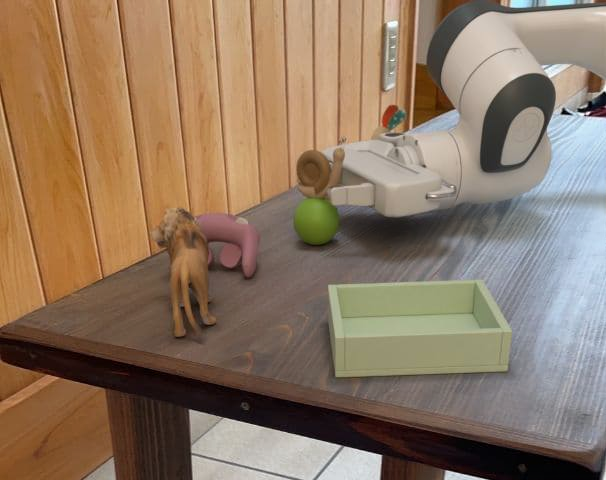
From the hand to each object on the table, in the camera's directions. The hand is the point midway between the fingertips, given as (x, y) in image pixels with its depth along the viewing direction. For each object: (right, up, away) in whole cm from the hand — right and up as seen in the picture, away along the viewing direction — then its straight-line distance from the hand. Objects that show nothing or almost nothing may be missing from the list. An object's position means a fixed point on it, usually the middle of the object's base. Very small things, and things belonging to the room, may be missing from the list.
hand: (313, 186), depth 98 cm
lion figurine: (-13, -18, -13) cm, 26 cm away
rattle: (+8, +9, +24) cm, 27 cm away
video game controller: (-11, -10, -2) cm, 15 cm away
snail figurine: (+1, -5, +4) cm, 7 cm away
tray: (+9, -23, -21) cm, 32 cm away
